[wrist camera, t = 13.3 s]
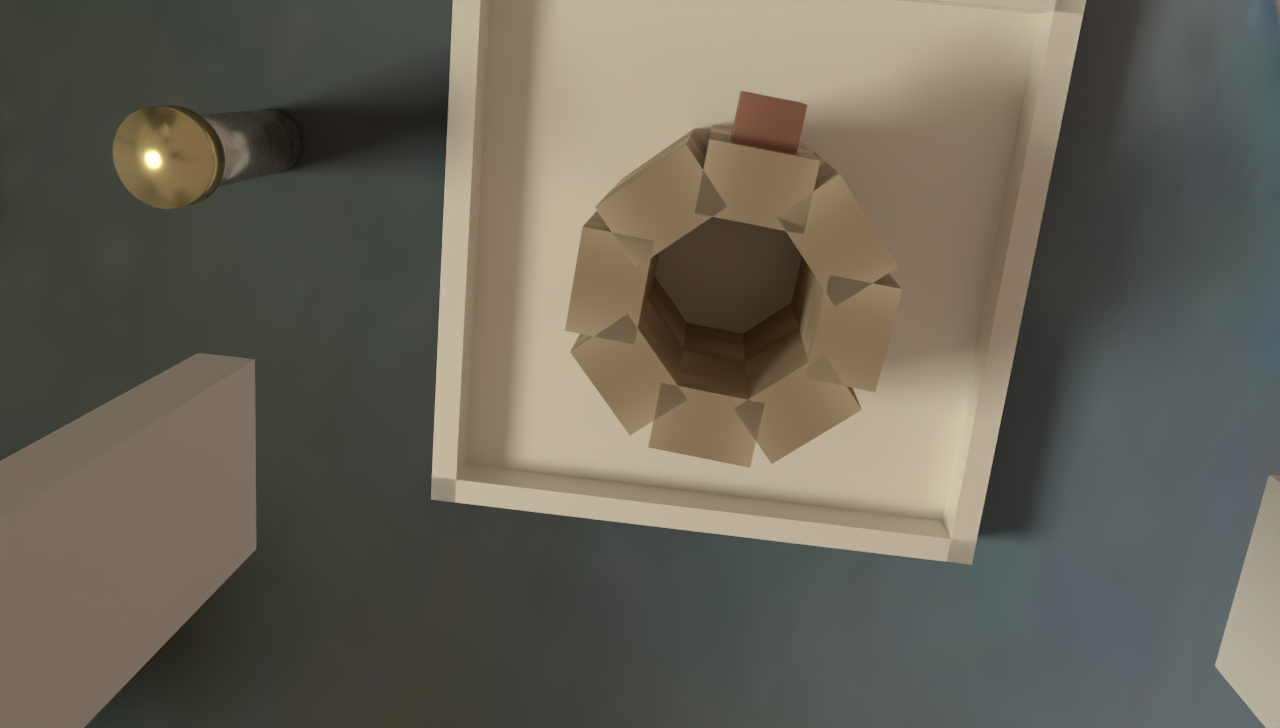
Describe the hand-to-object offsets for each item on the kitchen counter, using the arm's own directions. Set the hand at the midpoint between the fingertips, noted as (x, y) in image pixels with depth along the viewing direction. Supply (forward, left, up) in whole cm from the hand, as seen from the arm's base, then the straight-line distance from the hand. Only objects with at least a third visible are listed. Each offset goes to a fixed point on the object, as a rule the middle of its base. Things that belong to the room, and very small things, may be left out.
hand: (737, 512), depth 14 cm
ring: (0, 0, -20) cm, 20 cm away
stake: (-2, -15, -21) cm, 25 cm away
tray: (0, 0, -21) cm, 21 cm away
